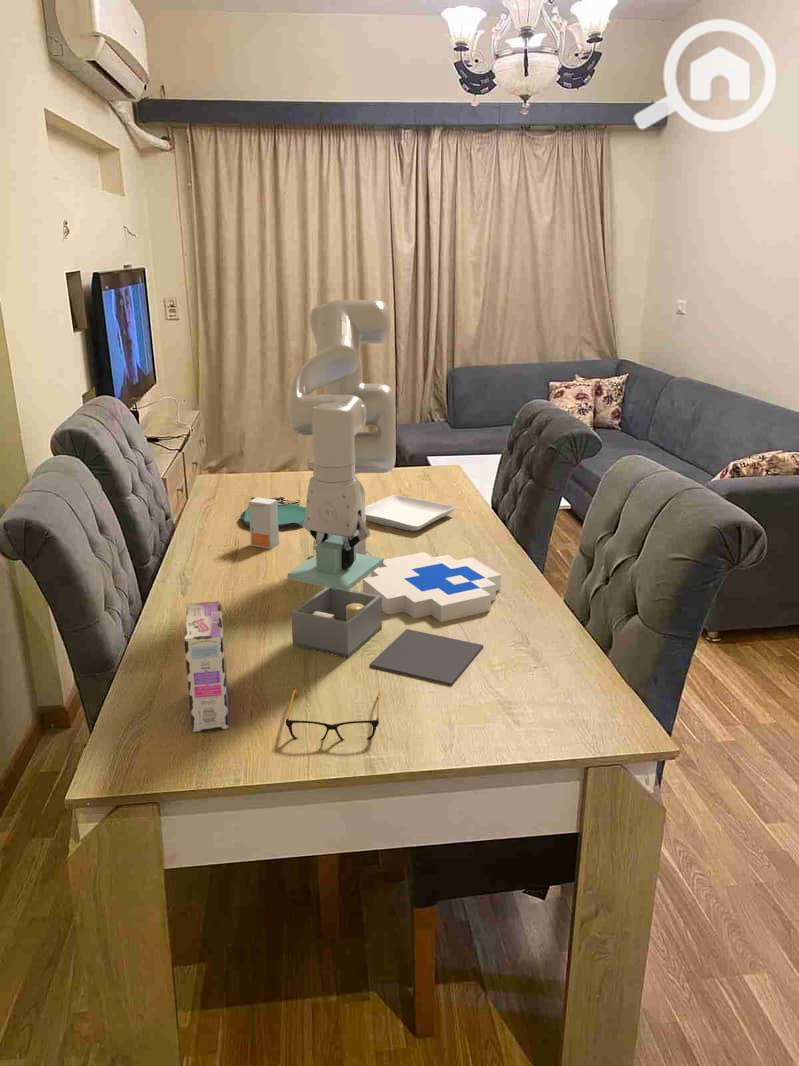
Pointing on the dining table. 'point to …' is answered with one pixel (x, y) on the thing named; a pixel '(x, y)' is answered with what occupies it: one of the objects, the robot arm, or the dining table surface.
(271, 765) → the dining table surface
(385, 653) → the mat
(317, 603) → the storage box
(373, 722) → the eyeglasses
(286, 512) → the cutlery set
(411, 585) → the pixel art tile
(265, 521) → the skincare box
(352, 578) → the lid
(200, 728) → the candy box
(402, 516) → the salad plate
